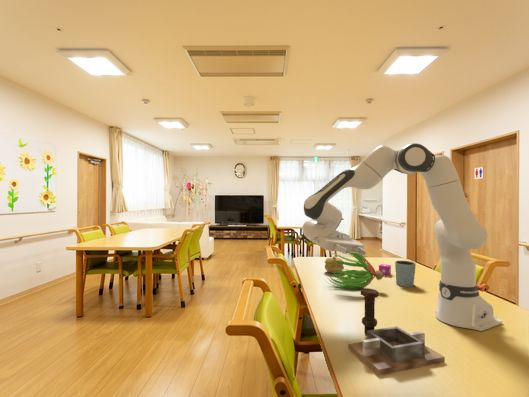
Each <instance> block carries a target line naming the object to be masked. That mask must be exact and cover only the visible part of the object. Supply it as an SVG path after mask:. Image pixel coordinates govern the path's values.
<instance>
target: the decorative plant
mask: <svg viewBox="0 0 529 397" xmlns="http://www.w3.org/2000/svg"><path fill="white" fill-rule="evenodd" d="M331 254H332V255H335V257H336V256H337V257H338V258H340V259H342V260H343V261H337V260H330V261H333V262H337V263H339V264H340V263H341V264H343V266H344V265H345V266H346V267H348V268H349V267H356V268H363V269H362V270H361V269H360V270H358V269H348V268H347V269H346V268H344V269H343V270H342V269H340V268H339V269H340V270H342V271H338V273H336V272H335V271H334V272H333V273H331V274H332V275H333V276H334V277H335V278H332V277H331V276H330V275H329V274H328V271H326V274H327V275H328V277H329V278H330V279H329V278H328V281H329V282H331V283H332V286H333V287H336V288H340V289H356V290H359V289H365V288H366V287H367V286H369V285H370V284H371V283H372V281H373V280H374V279H375V278H376V280H378V281H381V280H382V279H383V278H384V275H383V273H382V272H381V271H379V269H378V270H375V268H374V267H373V265H372V264H371V263H370V262H369V261H368V260H367V258H366V257H364V255H360V254H359V253H349V252H348V253H347V255H349V256H352V257H353V258H355V259H356V260H355V259H350V258H348V257H345V256H342V255H339V254H335V253H333V252H331ZM342 254H344V253H342ZM328 260H329V259H328ZM348 261H349V262H348ZM339 266H340V265H339ZM325 282H327V281H326V280H325ZM327 283H328V282H327ZM333 284H334V285H333Z"/></svg>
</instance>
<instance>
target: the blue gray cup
mask: <svg viewBox="0 0 529 397" xmlns="http://www.w3.org/2000/svg"><path fill="white" fill-rule="evenodd" d="M394 264H395V265H394V267H395V268H394V269H395V283H396V285H397V286H401V287H406V288H407V287H408V288H411V287H412V288H413V287H414V284H415V274H416V267H417V266H416V262H413V261H410V260H396V261H394Z"/></svg>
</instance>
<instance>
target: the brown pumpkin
mask: <svg viewBox="0 0 529 397" xmlns="http://www.w3.org/2000/svg"><path fill="white" fill-rule="evenodd" d="M328 259H329V260H328ZM330 260H337V261H343V262H344V259H343V258H341V257H336V256H332V257H327V258H326V259H325V260H324V263H325V265H324V268H325V271H326V272H327V273H329V274H330V273H331V274H332V273H333V272H334V271H335V272H336V273H335V274H339V273H338V271H342V270H343V269H345V266H344V264H341V263H340V264H339V263H337V262H333V261H330ZM339 265H340V266H339ZM339 268H340V269H342V270H340V269H339ZM343 271H344V270H343ZM333 274H334V273H333Z"/></svg>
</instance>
